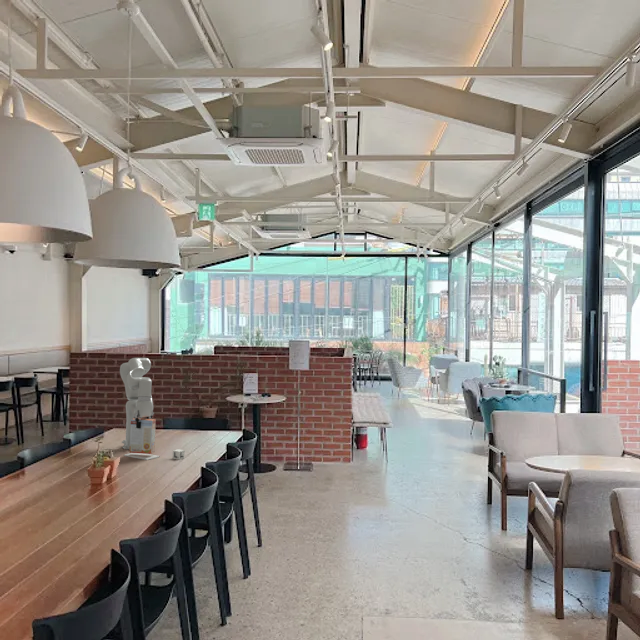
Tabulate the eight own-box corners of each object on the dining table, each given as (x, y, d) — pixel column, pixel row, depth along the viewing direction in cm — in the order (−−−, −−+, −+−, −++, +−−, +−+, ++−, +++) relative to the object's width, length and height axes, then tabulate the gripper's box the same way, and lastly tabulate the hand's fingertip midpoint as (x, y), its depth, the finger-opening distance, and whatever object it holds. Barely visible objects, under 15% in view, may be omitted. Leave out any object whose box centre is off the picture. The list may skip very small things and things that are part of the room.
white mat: (123, 455, 367) (123, 454, 367) (136, 452, 377) (136, 451, 377) (147, 460, 359) (147, 459, 359) (159, 457, 368) (159, 456, 368)
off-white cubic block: (172, 458, 366) (172, 450, 366) (177, 457, 371) (178, 449, 371) (178, 459, 364) (179, 451, 364) (184, 458, 368) (184, 450, 368)
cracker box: (154, 452, 370) (156, 418, 370) (150, 454, 364) (152, 420, 364) (133, 450, 372) (134, 417, 372) (129, 452, 366) (130, 418, 366)
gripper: (150, 396, 378) (148, 424, 378) (129, 399, 362) (128, 428, 362) (159, 398, 374) (157, 426, 374) (139, 400, 359) (137, 429, 359)
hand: (143, 427), depth 368 cm, fingers closed on cracker box, 7 cm apart
